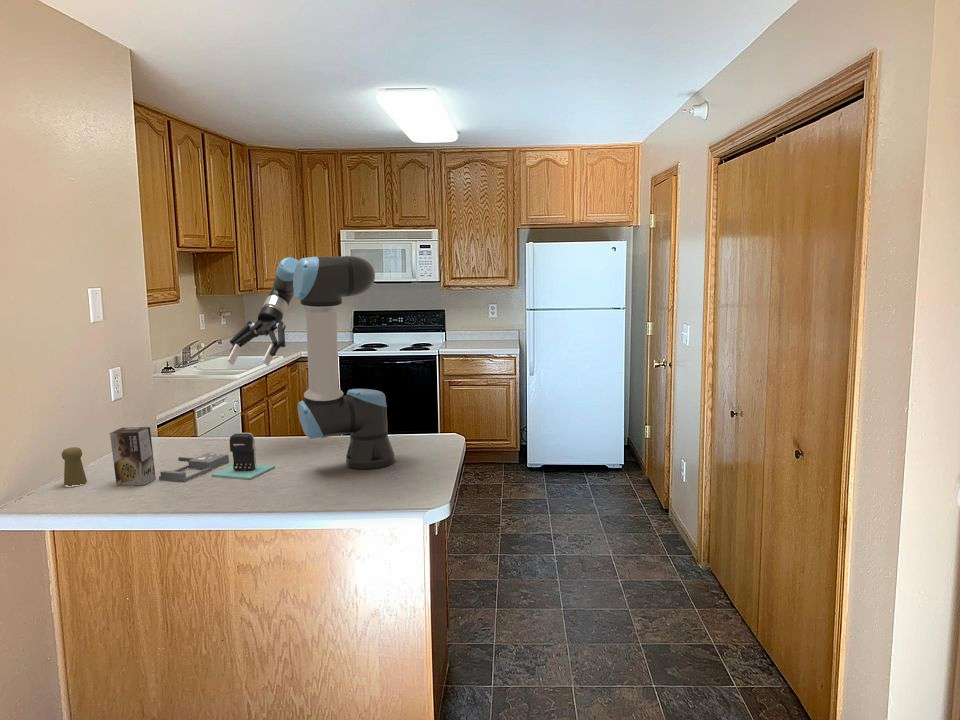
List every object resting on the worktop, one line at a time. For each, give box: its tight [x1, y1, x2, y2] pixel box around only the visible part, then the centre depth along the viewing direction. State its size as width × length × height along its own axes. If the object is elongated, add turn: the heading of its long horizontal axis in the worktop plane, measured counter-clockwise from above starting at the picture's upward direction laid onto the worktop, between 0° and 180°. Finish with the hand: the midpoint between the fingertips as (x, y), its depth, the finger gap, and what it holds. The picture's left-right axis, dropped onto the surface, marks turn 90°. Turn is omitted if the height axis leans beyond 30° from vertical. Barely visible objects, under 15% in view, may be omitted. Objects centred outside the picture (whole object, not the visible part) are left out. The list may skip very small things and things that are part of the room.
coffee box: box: [109, 426, 157, 486], centre depth 203 cm, size 9×6×16 cm
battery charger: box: [229, 432, 257, 471], centre depth 210 cm, size 7×4×11 cm, turn 83°
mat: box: [211, 464, 276, 481], centre depth 211 cm, size 14×12×1 cm
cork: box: [61, 446, 88, 486], centre depth 204 cm, size 6×6×11 cm
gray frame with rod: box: [158, 452, 230, 483], centre depth 215 cm, size 19×20×3 cm
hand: (247, 362), depth 221 cm, fingers open, 13 cm apart
